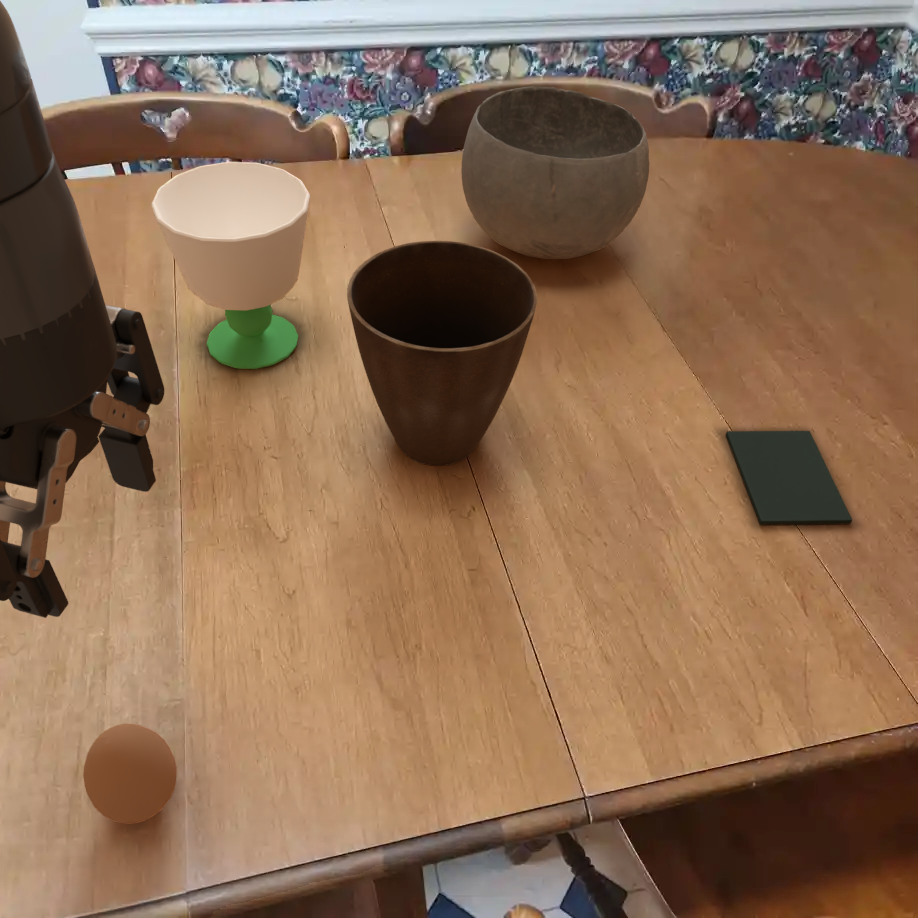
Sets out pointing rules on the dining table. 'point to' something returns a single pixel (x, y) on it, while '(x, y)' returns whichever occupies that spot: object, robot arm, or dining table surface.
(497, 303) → the flower pot
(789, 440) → the mat
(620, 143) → the bowl
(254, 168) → the cup
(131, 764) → the egg
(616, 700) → the dining table surface
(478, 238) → the dining table surface
